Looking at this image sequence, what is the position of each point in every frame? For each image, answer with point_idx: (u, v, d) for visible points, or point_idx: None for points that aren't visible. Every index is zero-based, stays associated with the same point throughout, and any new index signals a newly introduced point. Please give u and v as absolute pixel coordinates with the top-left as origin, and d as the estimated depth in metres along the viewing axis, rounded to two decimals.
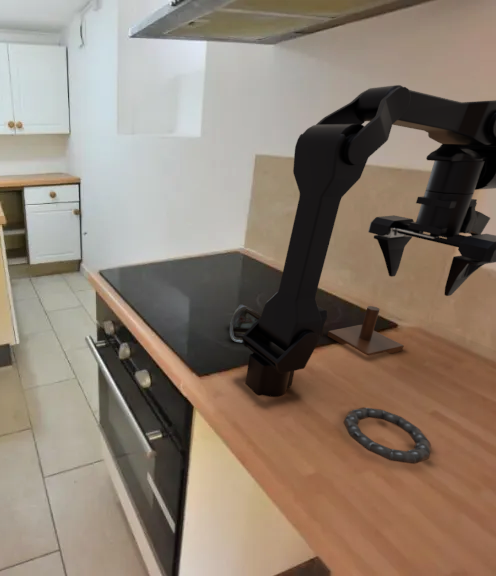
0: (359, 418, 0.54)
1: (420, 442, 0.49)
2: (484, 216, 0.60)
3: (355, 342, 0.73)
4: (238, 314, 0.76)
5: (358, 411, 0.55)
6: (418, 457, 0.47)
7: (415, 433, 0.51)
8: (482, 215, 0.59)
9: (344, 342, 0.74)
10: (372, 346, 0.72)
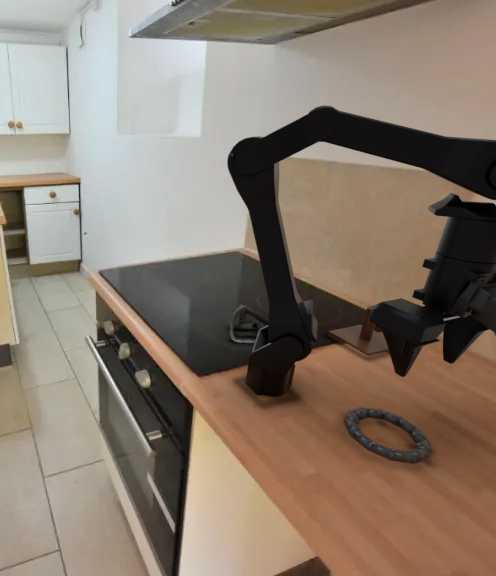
0: (359, 418, 0.54)
1: (420, 442, 0.49)
2: None
3: (355, 342, 0.73)
4: (238, 314, 0.76)
5: (358, 411, 0.55)
6: (418, 457, 0.47)
7: (415, 433, 0.51)
8: None
9: (344, 342, 0.74)
10: (372, 346, 0.72)
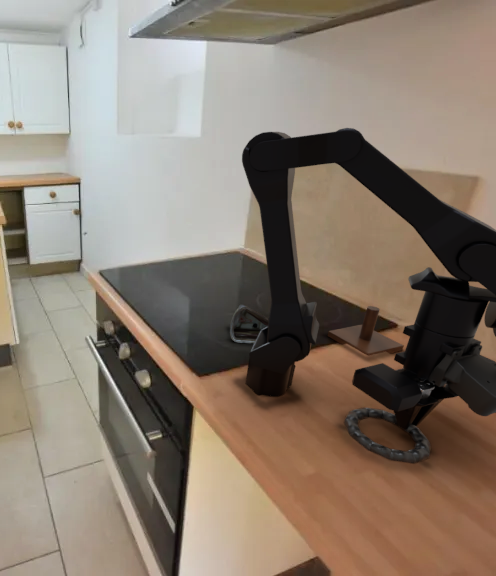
0: (359, 418, 0.54)
1: (420, 442, 0.49)
2: (477, 385, 0.42)
3: (355, 342, 0.73)
4: (238, 314, 0.76)
5: (358, 411, 0.55)
6: (418, 457, 0.47)
7: (415, 433, 0.51)
8: (472, 380, 0.42)
9: (344, 342, 0.74)
10: (372, 346, 0.72)
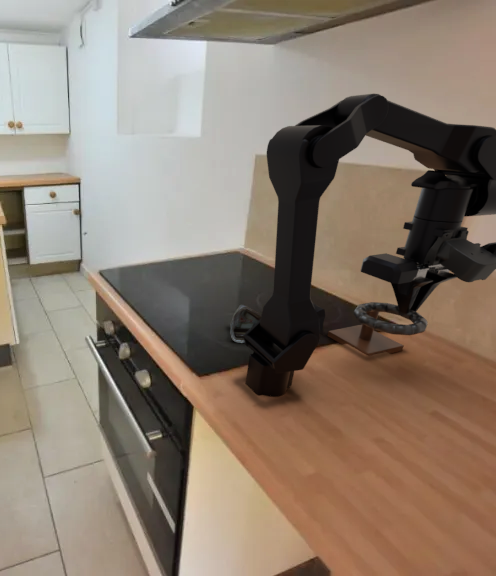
0: (367, 309, 0.64)
1: (418, 319, 0.59)
2: (463, 256, 0.52)
3: (355, 342, 0.73)
4: (238, 314, 0.76)
5: (366, 304, 0.64)
6: (416, 328, 0.57)
7: (414, 315, 0.61)
8: (458, 253, 0.52)
9: (344, 342, 0.74)
10: (372, 346, 0.72)
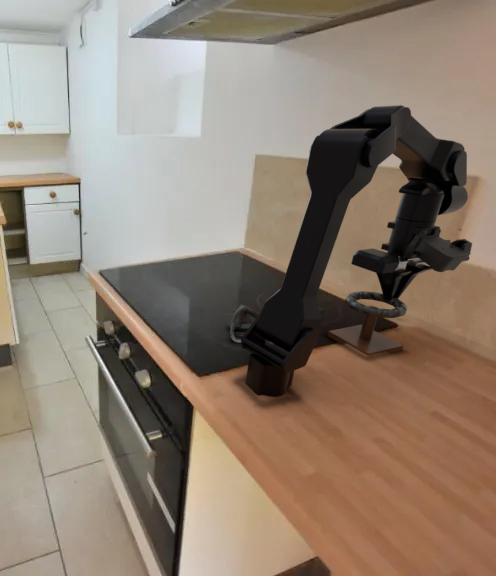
0: (356, 297, 0.74)
1: (399, 305, 0.69)
2: (435, 250, 0.62)
3: (355, 342, 0.73)
4: (239, 314, 0.76)
5: (356, 292, 0.75)
6: (397, 312, 0.67)
7: (396, 301, 0.71)
8: (432, 248, 0.63)
9: (344, 342, 0.74)
10: (372, 346, 0.72)
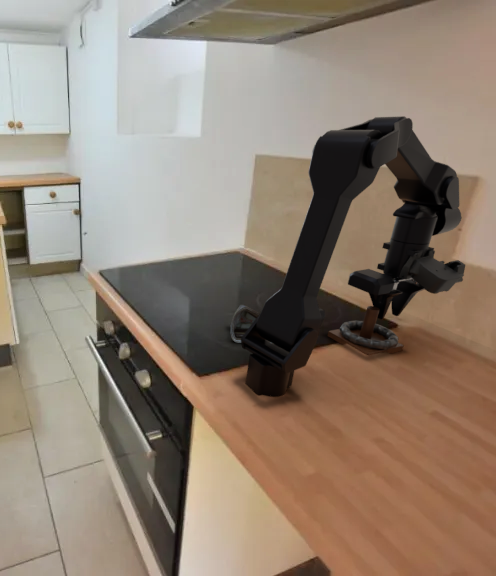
0: (350, 326, 0.77)
1: (391, 336, 0.72)
2: (429, 272, 0.64)
3: None
4: (239, 314, 0.76)
5: (350, 322, 0.77)
6: (389, 343, 0.70)
7: (388, 332, 0.74)
8: (426, 270, 0.64)
9: (344, 342, 0.74)
10: None
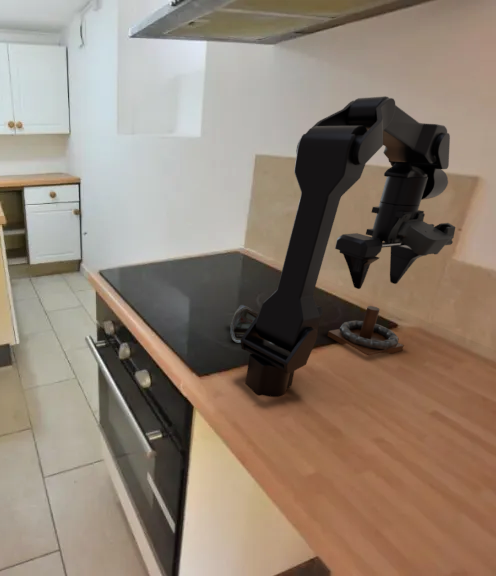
0: (350, 326, 0.77)
1: (391, 336, 0.72)
2: (418, 233, 0.62)
3: None
4: (239, 314, 0.76)
5: (350, 322, 0.77)
6: (389, 343, 0.70)
7: (388, 332, 0.74)
8: (415, 231, 0.62)
9: (344, 342, 0.74)
10: None
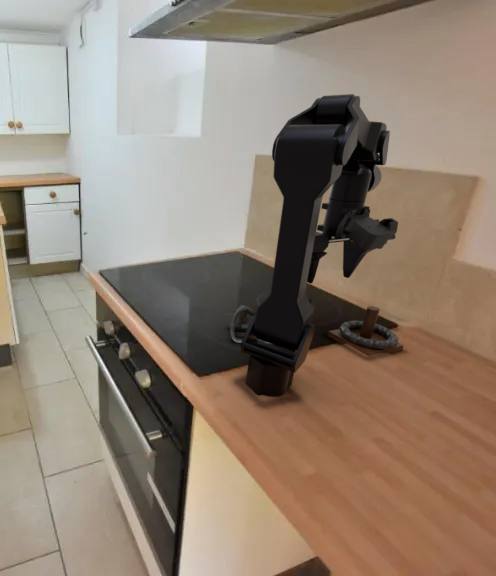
0: (350, 326, 0.77)
1: (391, 336, 0.72)
2: (361, 228, 0.64)
3: None
4: (239, 315, 0.76)
5: (350, 322, 0.77)
6: (389, 343, 0.70)
7: (388, 332, 0.74)
8: (359, 226, 0.64)
9: (344, 342, 0.74)
10: None
